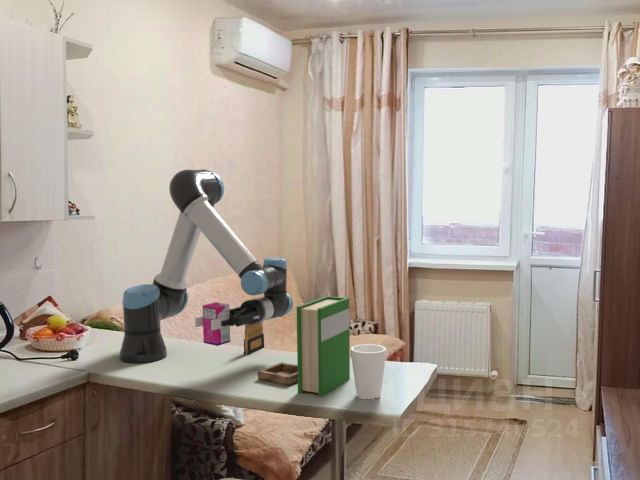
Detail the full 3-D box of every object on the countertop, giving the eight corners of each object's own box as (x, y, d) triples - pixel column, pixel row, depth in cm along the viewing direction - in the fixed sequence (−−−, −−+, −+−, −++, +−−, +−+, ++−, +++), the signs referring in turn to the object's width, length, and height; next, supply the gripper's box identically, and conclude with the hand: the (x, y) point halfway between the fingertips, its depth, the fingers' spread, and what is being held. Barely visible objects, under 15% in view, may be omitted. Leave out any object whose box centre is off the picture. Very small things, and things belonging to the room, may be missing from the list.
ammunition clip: (248, 355, 224) (247, 319, 223) (243, 354, 224) (242, 319, 223) (264, 347, 233) (263, 313, 232) (259, 347, 234) (259, 313, 233)
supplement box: (216, 339, 201) (216, 301, 200) (230, 342, 198) (230, 304, 197) (202, 343, 196) (202, 304, 195) (217, 346, 193) (216, 307, 192)
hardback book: (321, 396, 180) (320, 308, 178) (297, 392, 183) (296, 306, 181) (349, 379, 196) (349, 298, 193) (327, 375, 199) (326, 296, 197)
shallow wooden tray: (258, 379, 196) (257, 371, 196) (281, 370, 205) (281, 362, 205) (289, 386, 190) (288, 377, 189) (312, 376, 199) (312, 367, 199)
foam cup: (356, 389, 186) (355, 343, 185) (388, 391, 183) (388, 345, 182) (347, 400, 177) (347, 351, 176) (382, 403, 174) (381, 354, 173)
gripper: (279, 326, 206) (228, 341, 187) (233, 318, 217) (181, 332, 198) (279, 302, 205) (228, 315, 186) (233, 295, 216) (180, 307, 197)
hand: (204, 323), depth 192 cm, fingers closed on supplement box, 6 cm apart
